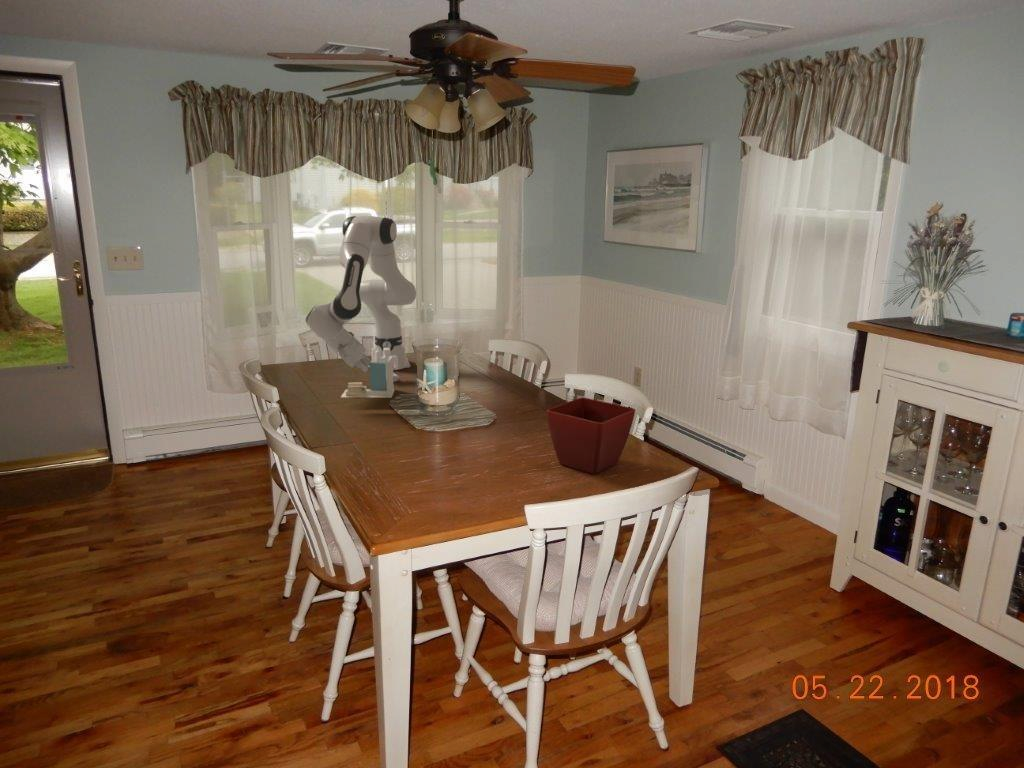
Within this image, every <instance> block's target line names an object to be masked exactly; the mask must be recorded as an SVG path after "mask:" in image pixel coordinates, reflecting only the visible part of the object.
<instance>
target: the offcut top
mask: <svg viewBox="0 0 1024 768" xmlns="http://www.w3.org/2000/svg"><path fill="white" fill-rule="evenodd" d="M362 386H363V382H362V381H361V382H359V381H357V382H356V381H355V382H348V383H347V389H348V392H351V391H362Z"/></svg>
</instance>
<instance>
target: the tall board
mask: <svg viewBox="0 0 1024 768" xmlns="http://www.w3.org/2000/svg"><path fill="white" fill-rule="evenodd" d="M369 366H370V367H369V384H370V386H369V387H370V388H369V389H370V390H378V391H387V378H386V362H372V361H371V362H370V363H369Z"/></svg>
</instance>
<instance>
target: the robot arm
mask: <svg viewBox="0 0 1024 768" xmlns="http://www.w3.org/2000/svg"><path fill="white" fill-rule="evenodd" d="M341 229H342V230H341V231H342V236H343V238H342V241H341V246H340V250H339V263H340V265H341V266H342V267H343V268H344V269H345V270H344V276H343V282H342V286H341V289H340V291H339V292H338V293H337V294H336V296H335V298H334V299H333V300H332V301H330V302H327V303H323V304H318V305H317V304H316V305H314V306H313V307H312V308H311V310H310V311H309V312H308V314H307V316H306V317H305V323H306V325H307V326H308V327H309V329H311V331H312V332H313V333H314V334H315V335H316V336H317V337H318V338H320V339H321V340H323V341H324V342H325V343H326V345H327V346H328V347H329V348H330V349H331V350H332V351H333V352H334V353H335V354H338V356H339V357H340V358H341V359H342V360H343V361H344V362H345V363H346V364H347V365H348V367H351V368H354V367H356V368H358V369H360V370H362V372H364V373H367V372H368V370H369V368H370V366H369V363H370V362H376V356H375V352H376V351H379V352H380V357H383V356H384V355H383V348H389V349H390V356H397V357H398V369H395V368H394V363H393V371H398V370H403V369H408V368H411V364H410V361H409V359H408V357H407V355H406V348H405V347H404V346H403V345H402V344H403V336H402V331H401V318H400V317H399V316H398V315H397V314H395V313H393V312H392V311H391V310H390V309H389V307H388V306H398V307H399V306H401V307H402V306H408V305H412V304H413V303H414V302H415V300H416V299H417V290H416V289H417V288H416V287H415V285H414V283H413V282H411V281H409V280H408V279H407V278H406V277H405V276H404V275H403V274H402V272H401V270H400V269H399V267H398V264H397V258H396V252H395V246H394V242H395V240H396V238H397V235H398V230H397V229H398V227H397V224H396V223H395V221H394V220H393V219H392V218H389V217H386V216H385V217H381V216H376V215H375V216H373V215H369V216H366V215H365V216H355V215H353V216H347V218H345V220H344V221H343V223H342V228H341ZM368 261H369V267H370V269H371V271H372V272H373V273H374V274H375V275H377V276H378V277H380V278H381V279H367V280H363V281H362V279H363V274H364V270H365V268H366V266H367V263H368ZM362 304H364V305H365V306H366V307H367V308H368V309H369V310H370V312H371V315H372V317H373V320H374V329H375V330H374V331H375V336H374V346H373V347H372V348H371V359H370V358H369V356H368V355H367V354H366V352H367V349H366V348H365V345H363V344H362V343H361V342H360V341H359V340H358V339H357V337H355V334H354V333H353V332H352V331H348V330H347V329H346V328H345V327H344V325H346V324H348V323H350V322H351V321H352V320H353V319H354V318H355V317H357V316H358V315H359V314H360V312H361V309H362ZM361 360H362V361H363V362H364V363H365V364H363V363H362V361H361Z"/></svg>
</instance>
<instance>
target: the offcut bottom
mask: <svg viewBox="0 0 1024 768" xmlns="http://www.w3.org/2000/svg"><path fill="white" fill-rule="evenodd" d="M367 389H368V388H367V385H362V391H351V392H348V388H347V390H346V389H345V390H346V396H364V394H365V392H366V391H367Z"/></svg>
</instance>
